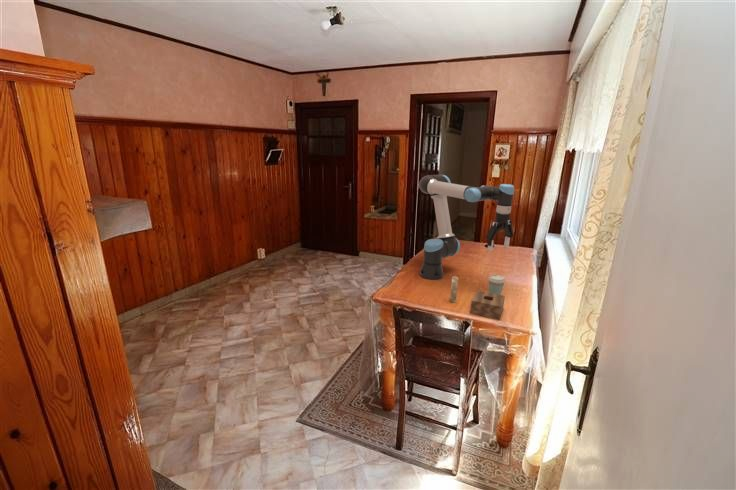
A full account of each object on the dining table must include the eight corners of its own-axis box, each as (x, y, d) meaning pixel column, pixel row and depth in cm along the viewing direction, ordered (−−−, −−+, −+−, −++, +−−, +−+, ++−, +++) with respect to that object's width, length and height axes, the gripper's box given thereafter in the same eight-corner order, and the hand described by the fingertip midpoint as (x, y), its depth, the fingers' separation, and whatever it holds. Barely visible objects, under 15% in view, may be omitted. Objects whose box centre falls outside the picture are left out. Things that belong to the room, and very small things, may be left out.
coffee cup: (498, 293, 191) (501, 274, 188) (505, 300, 183) (508, 280, 179) (484, 293, 191) (486, 274, 187) (489, 300, 182) (492, 280, 179)
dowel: (449, 301, 180) (451, 277, 176) (450, 299, 183) (453, 275, 179) (455, 303, 179) (457, 278, 175) (456, 300, 181) (458, 276, 177)
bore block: (470, 313, 168) (471, 300, 166) (475, 302, 180) (476, 290, 178) (499, 319, 162) (501, 306, 160) (503, 308, 174) (504, 295, 172)
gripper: (492, 216, 174) (487, 254, 181) (523, 212, 186) (518, 248, 193) (481, 213, 181) (477, 250, 187) (512, 209, 193) (507, 244, 199)
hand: (497, 249), depth 190 cm, fingers open, 13 cm apart
